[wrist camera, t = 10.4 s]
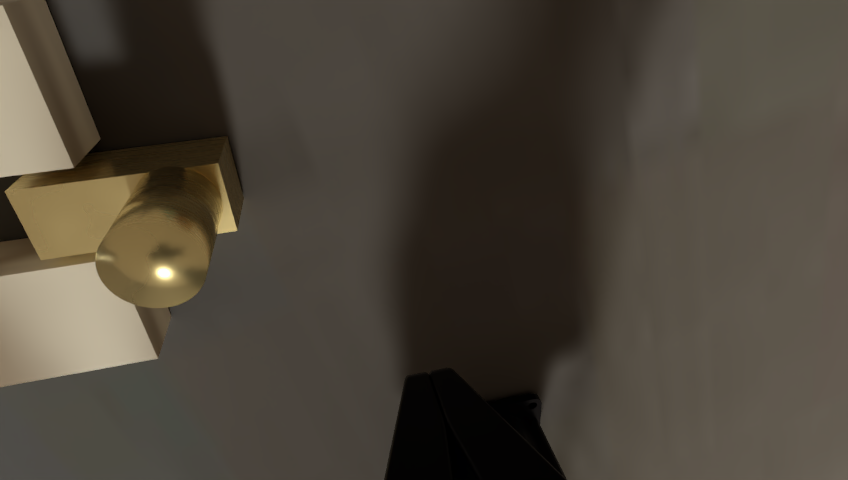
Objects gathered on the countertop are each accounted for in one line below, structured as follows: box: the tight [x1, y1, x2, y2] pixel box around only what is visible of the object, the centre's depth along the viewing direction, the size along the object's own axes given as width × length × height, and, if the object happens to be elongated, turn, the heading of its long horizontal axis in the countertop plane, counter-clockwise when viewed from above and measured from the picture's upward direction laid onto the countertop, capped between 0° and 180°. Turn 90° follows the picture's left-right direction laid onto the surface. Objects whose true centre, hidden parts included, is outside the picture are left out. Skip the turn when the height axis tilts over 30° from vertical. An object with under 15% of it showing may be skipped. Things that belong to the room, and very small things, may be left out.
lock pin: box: [5, 136, 244, 308], centre depth 16 cm, size 6×3×6 cm, turn 94°
